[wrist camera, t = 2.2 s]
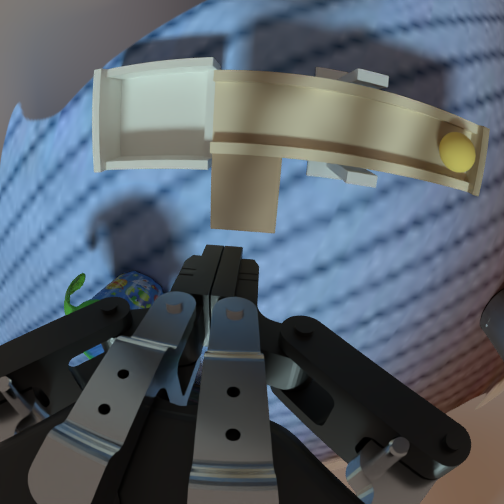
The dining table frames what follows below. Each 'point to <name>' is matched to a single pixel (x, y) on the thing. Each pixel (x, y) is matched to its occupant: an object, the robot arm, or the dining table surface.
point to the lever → (320, 139)
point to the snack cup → (125, 286)
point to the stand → (342, 171)
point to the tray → (154, 115)
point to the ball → (457, 152)
